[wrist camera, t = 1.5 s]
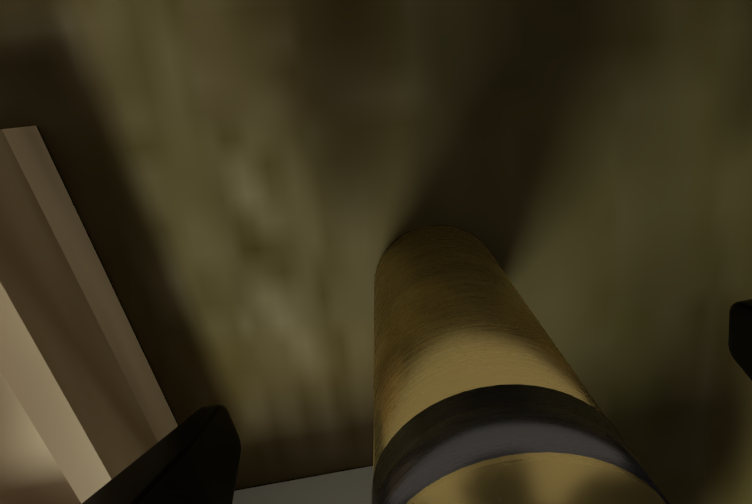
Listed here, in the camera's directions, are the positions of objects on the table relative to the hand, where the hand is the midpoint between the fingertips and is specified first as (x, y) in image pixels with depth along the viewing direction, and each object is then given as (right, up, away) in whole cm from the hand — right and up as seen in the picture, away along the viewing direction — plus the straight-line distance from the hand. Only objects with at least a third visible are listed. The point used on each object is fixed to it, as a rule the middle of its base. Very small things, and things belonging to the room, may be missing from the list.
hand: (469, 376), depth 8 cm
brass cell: (0, +1, +4) cm, 4 cm away
